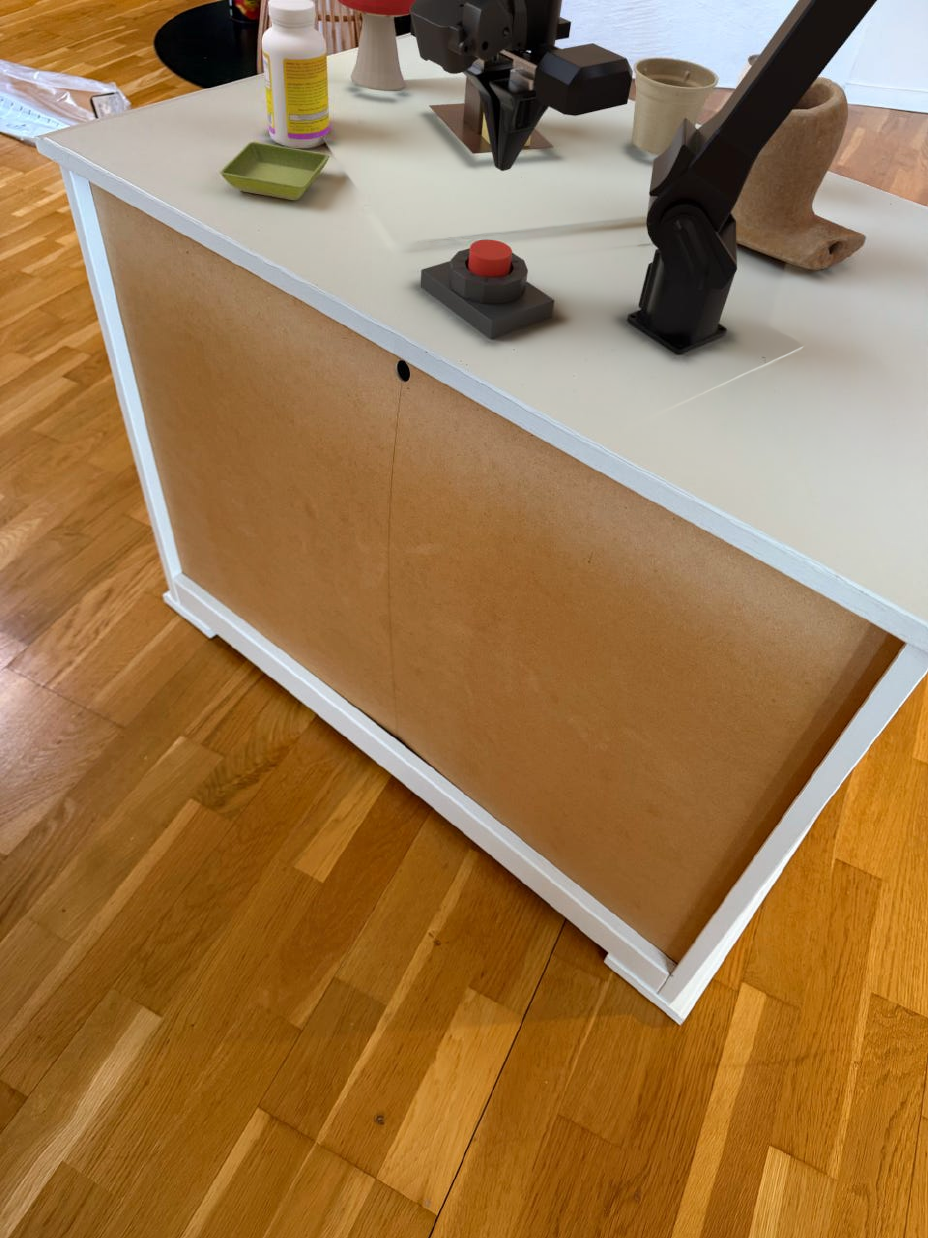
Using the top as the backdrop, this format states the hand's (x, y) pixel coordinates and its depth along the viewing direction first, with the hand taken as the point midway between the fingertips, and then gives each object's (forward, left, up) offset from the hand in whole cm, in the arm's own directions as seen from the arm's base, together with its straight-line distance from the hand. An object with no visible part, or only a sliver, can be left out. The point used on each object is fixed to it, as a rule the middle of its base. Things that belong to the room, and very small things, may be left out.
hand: (502, 168), depth 71 cm
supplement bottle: (+37, -3, -11) cm, 39 cm away
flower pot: (+15, -38, -11) cm, 42 cm away
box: (-1, +1, -11) cm, 11 cm away
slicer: (+28, -23, -11) cm, 38 cm away
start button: (-1, +1, -8) cm, 8 cm away
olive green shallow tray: (+28, +5, -11) cm, 31 cm away
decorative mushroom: (+45, -19, -11) cm, 50 cm away
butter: (+24, -22, -10) cm, 34 cm away
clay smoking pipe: (-7, -31, -11) cm, 34 cm away
